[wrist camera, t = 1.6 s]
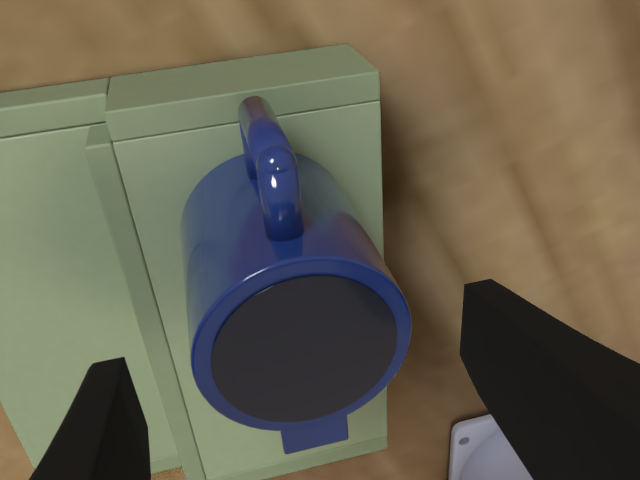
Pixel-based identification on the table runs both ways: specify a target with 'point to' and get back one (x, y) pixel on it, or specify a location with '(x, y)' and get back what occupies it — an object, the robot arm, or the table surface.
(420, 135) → the table surface
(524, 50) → the table surface
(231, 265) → the jug
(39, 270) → the step rack
